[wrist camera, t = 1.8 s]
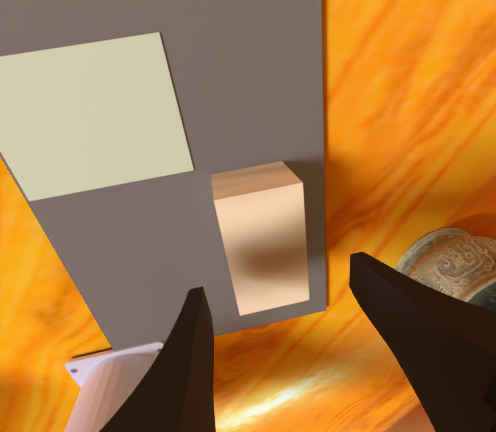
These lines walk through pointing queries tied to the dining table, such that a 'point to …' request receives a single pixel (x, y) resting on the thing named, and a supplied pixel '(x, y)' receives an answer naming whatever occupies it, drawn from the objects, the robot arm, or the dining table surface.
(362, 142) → the dining table surface
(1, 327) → the dining table surface
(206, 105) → the rubber mat
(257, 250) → the birch block
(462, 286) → the vessel
